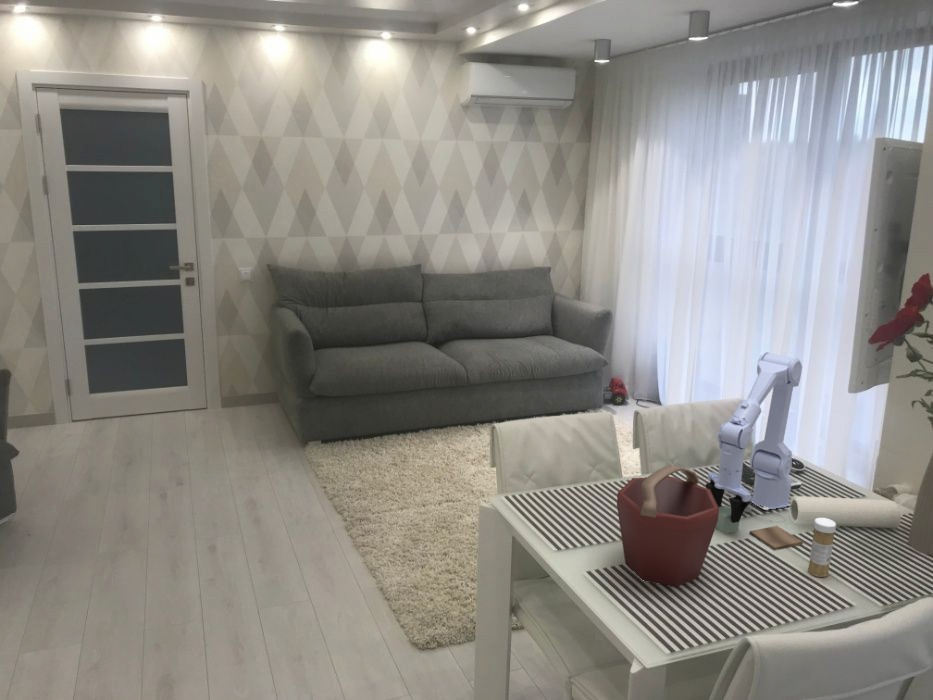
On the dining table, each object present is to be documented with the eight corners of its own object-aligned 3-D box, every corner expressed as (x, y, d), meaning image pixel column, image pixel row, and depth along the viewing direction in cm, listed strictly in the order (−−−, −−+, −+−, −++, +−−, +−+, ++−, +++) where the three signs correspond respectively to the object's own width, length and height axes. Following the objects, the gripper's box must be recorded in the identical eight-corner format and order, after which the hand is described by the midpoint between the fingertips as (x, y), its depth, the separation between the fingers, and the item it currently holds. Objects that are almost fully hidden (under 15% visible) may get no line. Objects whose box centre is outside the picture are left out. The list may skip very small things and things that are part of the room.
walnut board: (776, 528, 198) (777, 525, 197) (802, 544, 189) (802, 541, 189) (749, 533, 194) (749, 531, 194) (774, 550, 186) (774, 547, 186)
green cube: (725, 522, 201) (727, 505, 200) (738, 530, 196) (740, 513, 195) (710, 525, 199) (712, 508, 198) (722, 533, 195) (724, 516, 193)
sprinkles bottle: (816, 566, 179) (823, 515, 176) (832, 575, 175) (840, 523, 172) (803, 570, 177) (810, 519, 174) (819, 580, 173) (827, 527, 170)
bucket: (657, 604, 163) (666, 499, 157) (589, 559, 181) (595, 463, 175) (731, 573, 175) (742, 475, 169) (661, 534, 193) (669, 444, 187)
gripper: (700, 459, 199) (695, 506, 202) (737, 480, 185) (731, 530, 189) (721, 456, 201) (716, 502, 204) (759, 476, 188) (753, 525, 191)
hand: (725, 515), depth 197 cm, fingers open, 7 cm apart
